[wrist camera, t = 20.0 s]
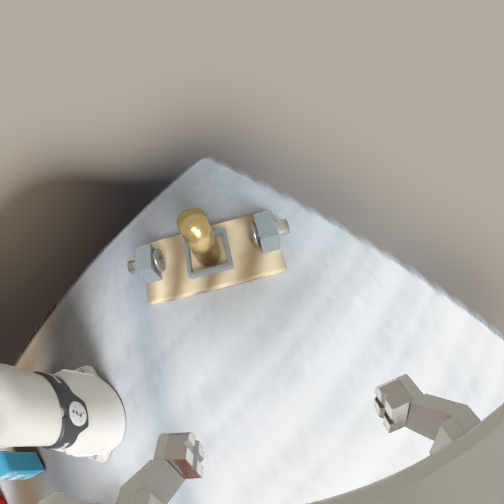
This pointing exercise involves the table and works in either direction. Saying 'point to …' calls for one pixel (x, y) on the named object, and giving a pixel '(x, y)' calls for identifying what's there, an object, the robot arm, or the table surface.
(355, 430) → the table surface
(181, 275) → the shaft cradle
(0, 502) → the ceramic cup
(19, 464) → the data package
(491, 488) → the robot arm
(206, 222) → the cylinder
